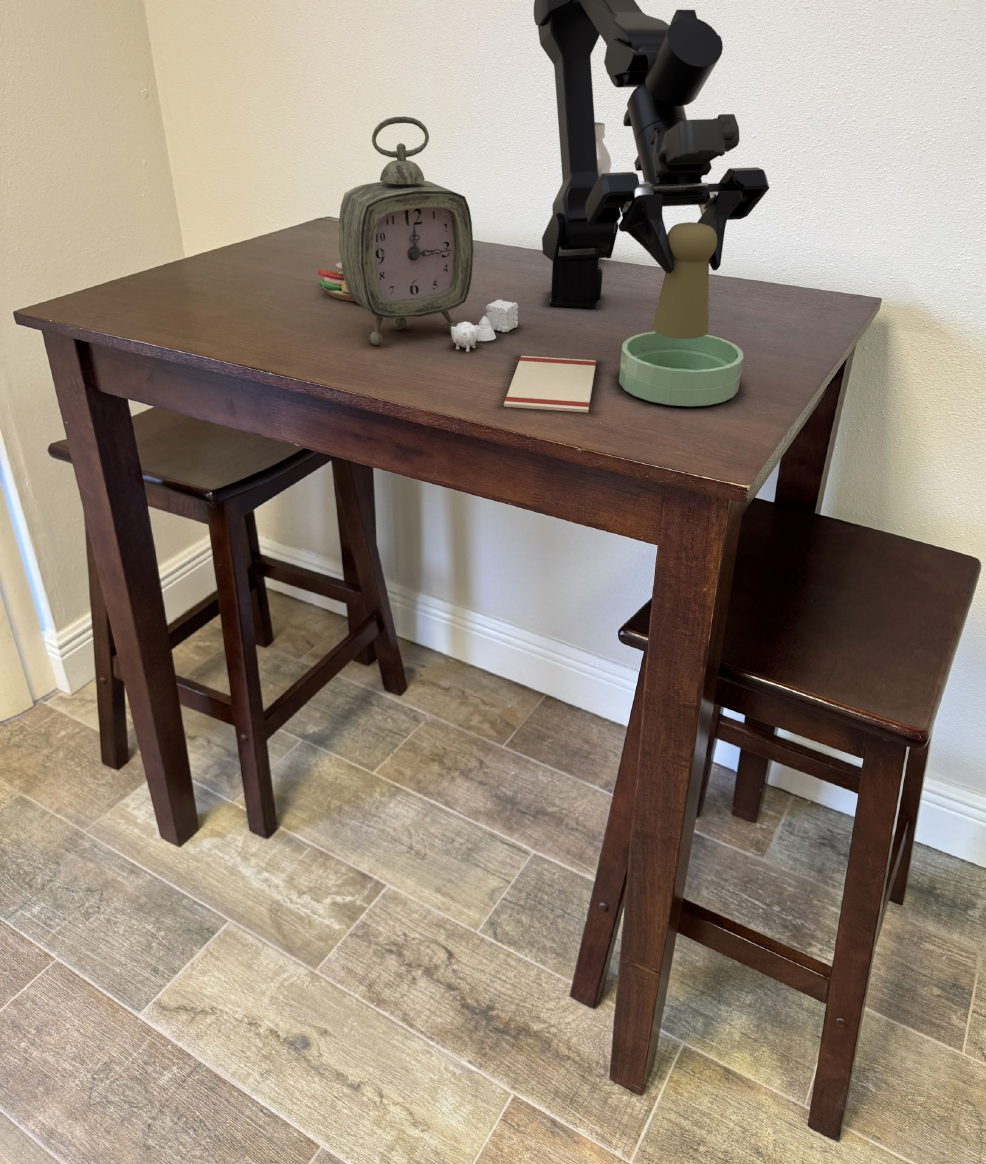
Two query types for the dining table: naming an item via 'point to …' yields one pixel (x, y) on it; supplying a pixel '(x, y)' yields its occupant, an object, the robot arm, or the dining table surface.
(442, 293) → the tabletop clock
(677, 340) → the bowl
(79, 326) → the dining table surface
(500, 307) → the game pieces
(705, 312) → the cork
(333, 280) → the toy food set
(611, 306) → the dining table surface
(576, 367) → the towel
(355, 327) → the dining table surface
